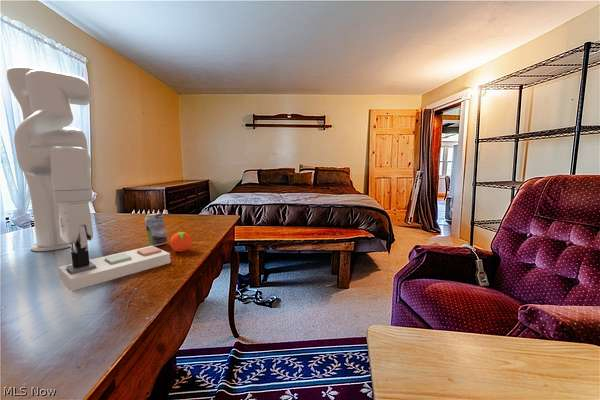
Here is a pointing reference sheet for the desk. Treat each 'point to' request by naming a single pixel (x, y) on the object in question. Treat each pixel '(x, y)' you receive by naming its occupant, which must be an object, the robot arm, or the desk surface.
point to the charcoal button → (80, 268)
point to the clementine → (181, 241)
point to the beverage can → (155, 229)
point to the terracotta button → (148, 251)
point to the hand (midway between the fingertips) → (81, 265)
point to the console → (113, 269)
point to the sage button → (117, 258)
